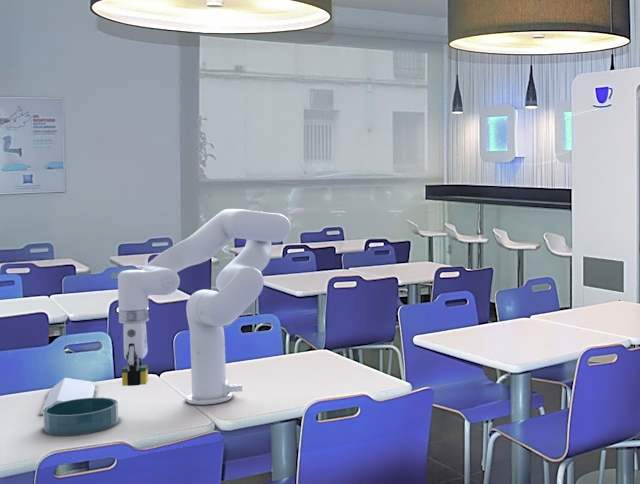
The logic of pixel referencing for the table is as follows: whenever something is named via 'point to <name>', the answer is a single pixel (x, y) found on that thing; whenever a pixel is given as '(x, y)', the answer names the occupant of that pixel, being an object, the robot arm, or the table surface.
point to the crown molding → (69, 391)
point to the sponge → (143, 375)
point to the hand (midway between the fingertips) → (135, 382)
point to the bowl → (80, 416)
